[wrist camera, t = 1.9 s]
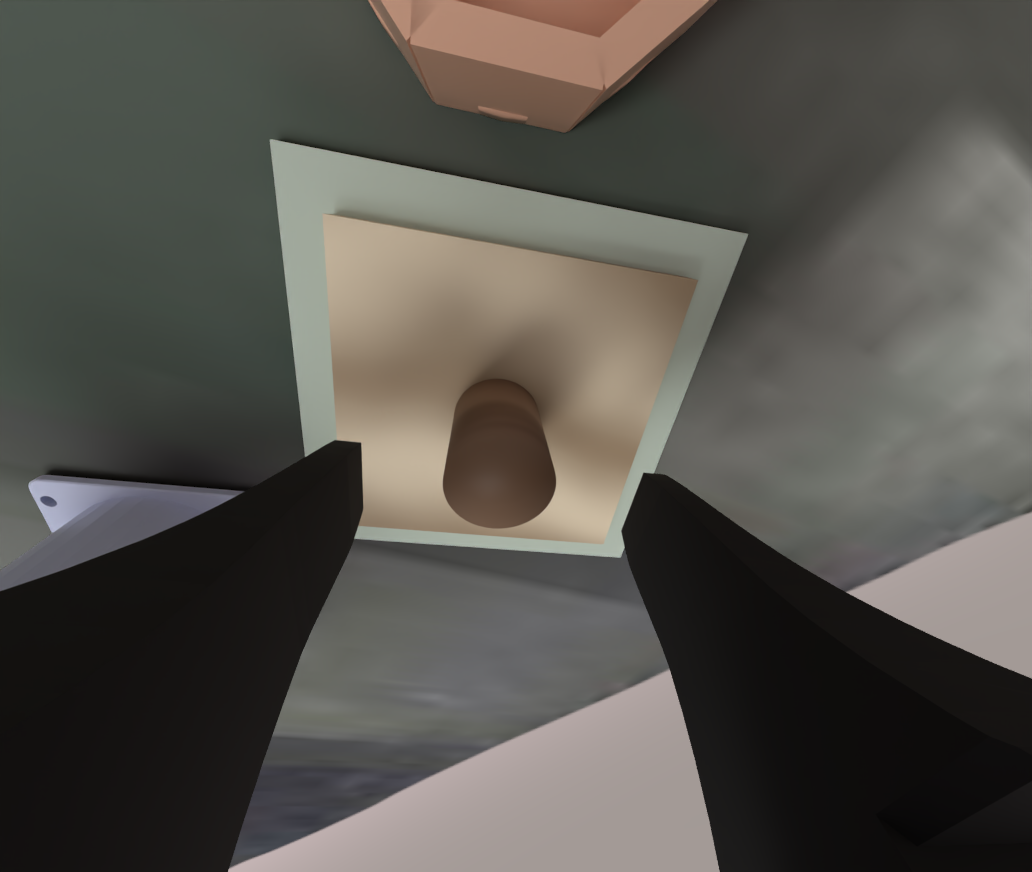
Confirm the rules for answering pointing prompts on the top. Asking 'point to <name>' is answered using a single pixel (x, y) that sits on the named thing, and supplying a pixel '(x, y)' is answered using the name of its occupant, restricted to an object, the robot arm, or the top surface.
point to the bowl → (532, 51)
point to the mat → (498, 219)
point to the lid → (492, 378)
